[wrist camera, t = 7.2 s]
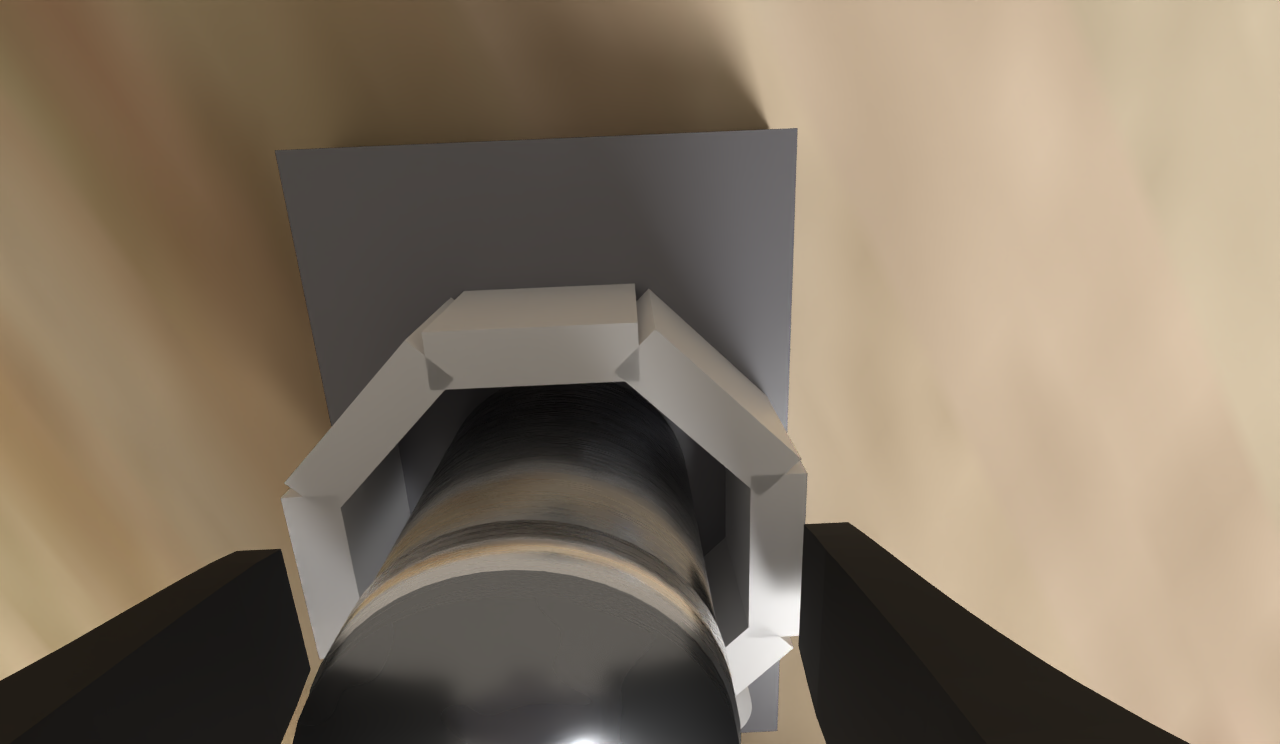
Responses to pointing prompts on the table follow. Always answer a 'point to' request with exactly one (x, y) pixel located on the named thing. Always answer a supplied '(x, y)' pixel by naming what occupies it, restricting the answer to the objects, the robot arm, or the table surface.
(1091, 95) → the table surface
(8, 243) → the table surface
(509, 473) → the lens
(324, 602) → the camera body
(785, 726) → the table surface
